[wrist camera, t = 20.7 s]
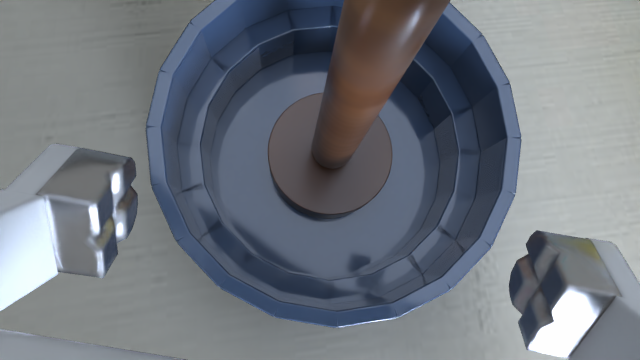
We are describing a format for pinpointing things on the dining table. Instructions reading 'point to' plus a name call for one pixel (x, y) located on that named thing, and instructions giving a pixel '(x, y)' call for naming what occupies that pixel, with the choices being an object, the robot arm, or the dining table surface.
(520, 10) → the dining table surface
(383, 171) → the wooden plunger
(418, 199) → the bowl
